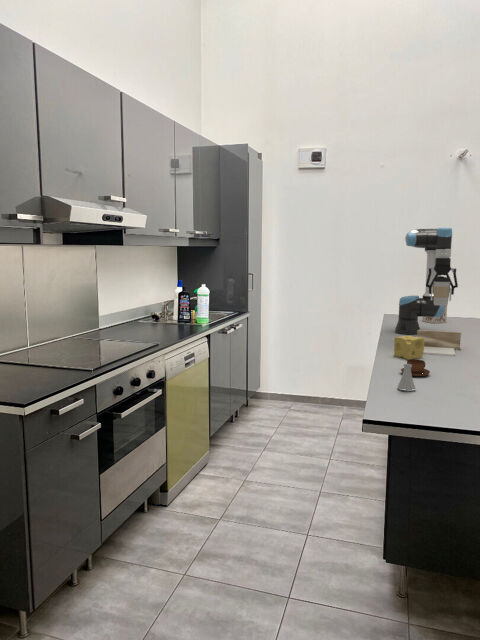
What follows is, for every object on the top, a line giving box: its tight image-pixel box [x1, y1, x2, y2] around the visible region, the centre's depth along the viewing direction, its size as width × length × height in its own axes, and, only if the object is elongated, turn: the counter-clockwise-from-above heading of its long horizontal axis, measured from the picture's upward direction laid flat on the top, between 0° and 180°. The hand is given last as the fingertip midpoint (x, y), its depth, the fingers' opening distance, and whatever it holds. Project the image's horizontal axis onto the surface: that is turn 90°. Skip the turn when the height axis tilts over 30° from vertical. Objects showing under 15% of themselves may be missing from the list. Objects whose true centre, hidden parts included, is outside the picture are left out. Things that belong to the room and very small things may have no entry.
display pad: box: [423, 346, 456, 357], centre depth 276 cm, size 16×16×1 cm
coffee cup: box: [433, 275, 452, 306], centre depth 278 cm, size 9×9×15 cm
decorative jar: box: [422, 305, 448, 325], centre depth 373 cm, size 12×12×18 cm
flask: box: [397, 363, 416, 390], centre depth 205 cm, size 7×7×10 cm
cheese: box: [393, 335, 424, 360], centre depth 263 cm, size 10×11×10 cm
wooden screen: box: [416, 329, 462, 351], centre depth 285 cm, size 6×22×9 cm, turn 70°
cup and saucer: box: [400, 358, 431, 377], centre depth 229 cm, size 12×12×6 cm
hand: (440, 300), depth 279 cm, fingers closed on coffee cup, 8 cm apart
